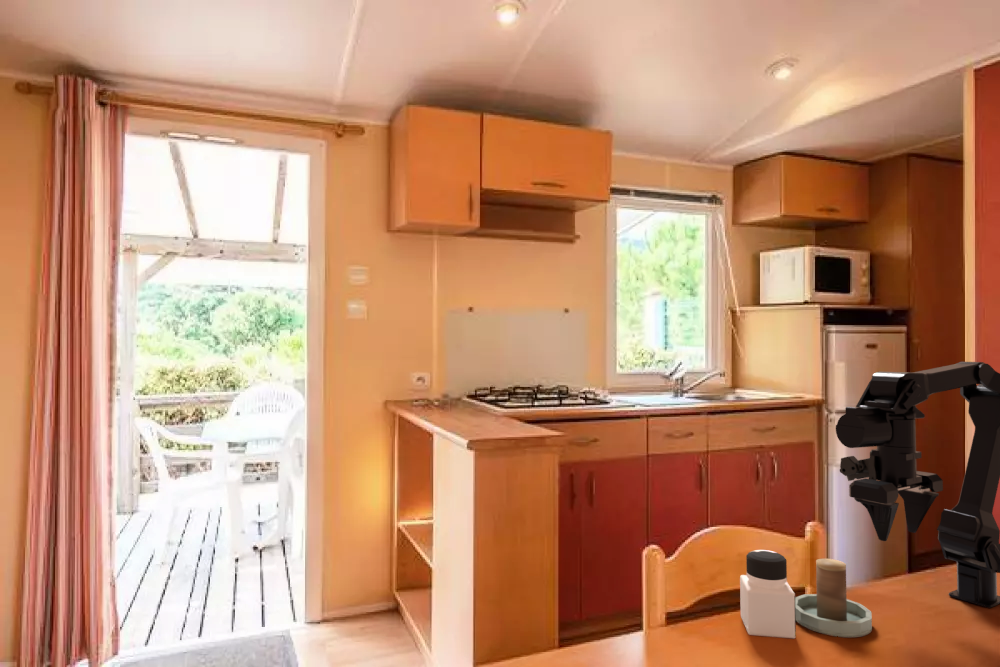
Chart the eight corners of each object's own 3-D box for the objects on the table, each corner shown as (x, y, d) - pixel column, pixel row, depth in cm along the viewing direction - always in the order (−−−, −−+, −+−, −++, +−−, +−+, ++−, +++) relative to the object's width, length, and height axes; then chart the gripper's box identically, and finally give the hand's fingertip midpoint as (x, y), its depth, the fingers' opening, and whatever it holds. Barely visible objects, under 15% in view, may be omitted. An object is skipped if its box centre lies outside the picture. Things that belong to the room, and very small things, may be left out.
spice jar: (830, 610, 108) (829, 557, 108) (853, 620, 103) (852, 565, 104) (810, 614, 106) (810, 560, 106) (832, 625, 102) (832, 568, 102)
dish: (819, 601, 113) (819, 589, 113) (886, 626, 103) (886, 612, 103) (777, 616, 107) (777, 603, 107) (844, 643, 97) (844, 629, 97)
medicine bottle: (796, 639, 98) (795, 562, 99) (748, 635, 100) (747, 559, 100) (785, 620, 105) (784, 547, 106) (740, 616, 107) (739, 545, 107)
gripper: (878, 435, 120) (879, 517, 120) (818, 443, 111) (820, 532, 110) (943, 442, 110) (945, 532, 110) (884, 452, 101) (886, 550, 101)
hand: (897, 536), depth 108 cm, fingers open, 9 cm apart
